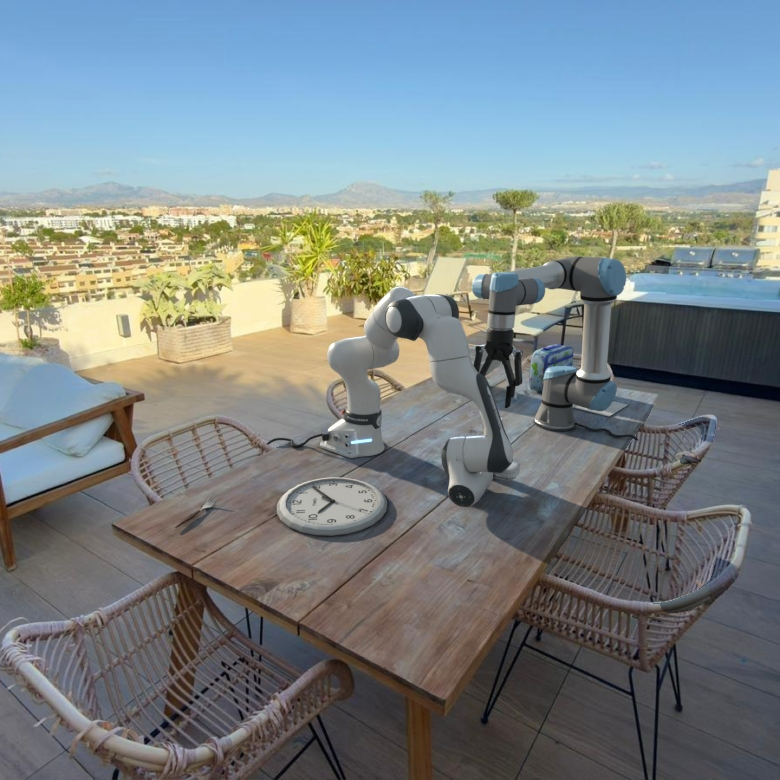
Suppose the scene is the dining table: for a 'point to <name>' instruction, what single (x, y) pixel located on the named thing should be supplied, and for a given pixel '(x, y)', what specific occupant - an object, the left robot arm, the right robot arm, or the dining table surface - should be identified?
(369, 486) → the wall clock
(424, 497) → the dining table surface
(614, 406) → the invitation card
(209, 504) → the fork
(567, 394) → the right robot arm
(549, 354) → the lunch box
